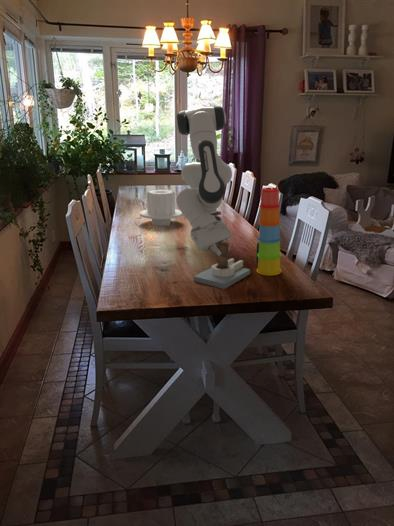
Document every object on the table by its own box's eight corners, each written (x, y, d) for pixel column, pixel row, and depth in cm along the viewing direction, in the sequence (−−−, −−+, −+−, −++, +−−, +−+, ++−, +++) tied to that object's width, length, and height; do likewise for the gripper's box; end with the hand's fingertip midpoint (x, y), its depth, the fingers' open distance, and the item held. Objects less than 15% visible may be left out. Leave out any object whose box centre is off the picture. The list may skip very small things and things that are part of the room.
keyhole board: (223, 266, 188) (223, 256, 186) (251, 272, 180) (252, 262, 179) (193, 280, 171) (193, 270, 170) (224, 289, 164) (224, 277, 162)
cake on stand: (143, 218, 272) (142, 187, 266) (183, 219, 271) (183, 188, 265) (136, 228, 248) (135, 195, 242) (180, 229, 247) (180, 195, 241)
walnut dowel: (221, 264, 176) (221, 240, 173) (229, 266, 174) (230, 242, 171) (215, 267, 173) (216, 242, 170) (224, 269, 171) (225, 244, 168)
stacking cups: (275, 277, 175) (281, 191, 164) (252, 272, 180) (256, 188, 169) (285, 270, 183) (291, 187, 172) (262, 266, 189) (267, 185, 177)
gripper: (193, 225, 164) (215, 254, 161) (222, 215, 179) (242, 242, 177) (184, 235, 167) (204, 264, 165) (213, 224, 183) (232, 251, 181)
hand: (224, 252), depth 171 cm, fingers closed on walnut dowel, 4 cm apart
